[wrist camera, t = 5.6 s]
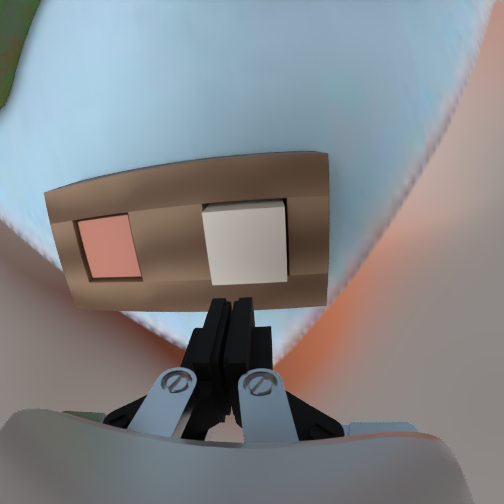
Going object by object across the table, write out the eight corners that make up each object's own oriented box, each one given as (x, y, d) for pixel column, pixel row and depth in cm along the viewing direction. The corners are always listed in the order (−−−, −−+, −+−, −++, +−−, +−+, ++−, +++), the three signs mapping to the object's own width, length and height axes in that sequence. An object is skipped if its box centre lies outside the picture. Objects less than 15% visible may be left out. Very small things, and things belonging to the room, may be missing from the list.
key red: (102, 208, 25) (77, 221, 21) (148, 202, 24) (127, 214, 20) (113, 258, 27) (92, 277, 23) (158, 255, 26) (141, 276, 22)
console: (79, 181, 25) (43, 193, 19) (313, 151, 23) (328, 153, 18) (102, 281, 29) (77, 308, 24) (314, 273, 28) (326, 305, 22)
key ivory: (213, 199, 22) (201, 212, 18) (280, 194, 22) (284, 206, 18) (220, 260, 24) (212, 285, 20) (283, 256, 24) (287, 281, 20)
